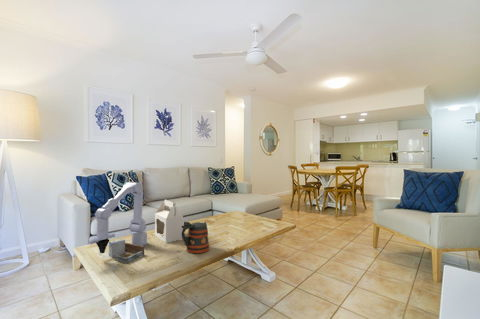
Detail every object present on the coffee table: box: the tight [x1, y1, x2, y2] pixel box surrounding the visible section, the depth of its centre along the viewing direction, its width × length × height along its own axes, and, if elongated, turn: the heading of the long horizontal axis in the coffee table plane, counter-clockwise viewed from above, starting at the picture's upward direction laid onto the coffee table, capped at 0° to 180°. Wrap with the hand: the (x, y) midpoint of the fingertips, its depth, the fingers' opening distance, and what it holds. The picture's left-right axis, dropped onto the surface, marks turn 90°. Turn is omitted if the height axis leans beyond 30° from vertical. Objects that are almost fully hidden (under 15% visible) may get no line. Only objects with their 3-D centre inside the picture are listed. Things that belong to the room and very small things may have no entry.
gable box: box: [154, 199, 184, 244], centre depth 172 cm, size 22×13×28 cm, turn 40°
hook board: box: [114, 241, 145, 264], centre depth 137 cm, size 13×21×5 cm, turn 67°
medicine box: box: [108, 238, 126, 258], centre depth 139 cm, size 8×4×9 cm, turn 141°
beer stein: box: [182, 221, 210, 254], centre depth 147 cm, size 19×15×20 cm
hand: (102, 252), depth 130 cm, fingers closed
